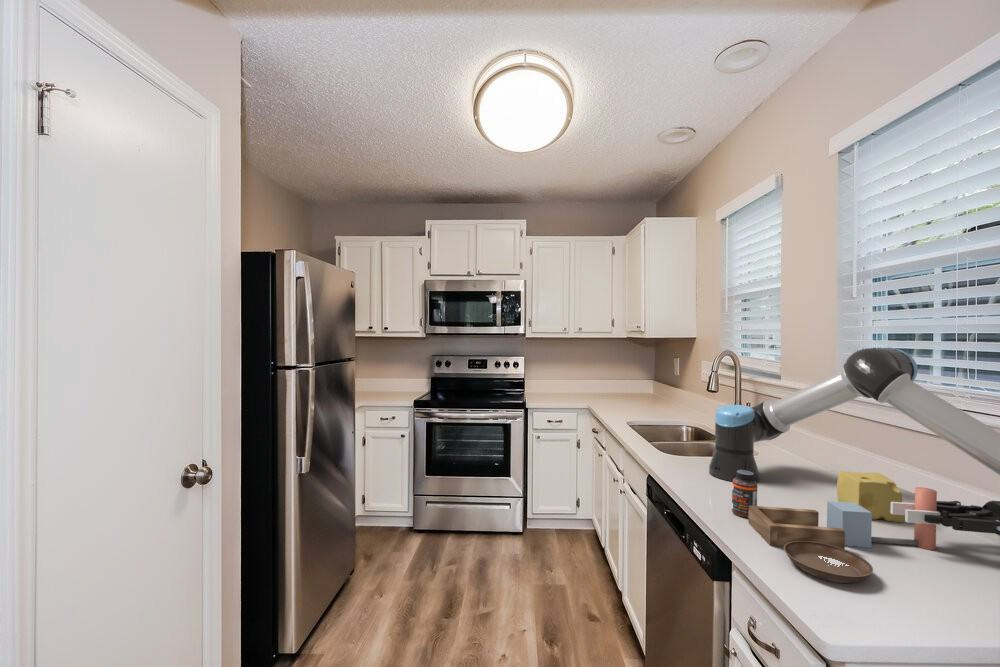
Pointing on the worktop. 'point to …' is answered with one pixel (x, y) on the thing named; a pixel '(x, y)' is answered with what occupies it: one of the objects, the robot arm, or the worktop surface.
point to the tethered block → (860, 522)
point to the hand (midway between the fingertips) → (899, 511)
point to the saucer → (809, 561)
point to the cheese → (870, 493)
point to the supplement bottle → (743, 493)
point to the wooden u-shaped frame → (792, 526)
